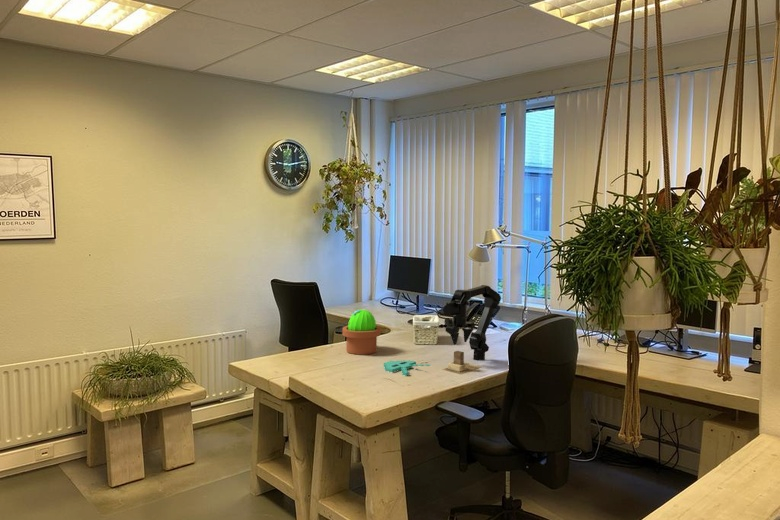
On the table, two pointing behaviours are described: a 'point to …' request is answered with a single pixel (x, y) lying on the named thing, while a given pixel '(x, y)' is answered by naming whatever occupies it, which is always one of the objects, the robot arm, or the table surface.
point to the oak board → (471, 368)
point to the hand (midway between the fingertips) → (460, 343)
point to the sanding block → (458, 362)
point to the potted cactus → (361, 333)
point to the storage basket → (425, 329)
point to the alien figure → (400, 366)
